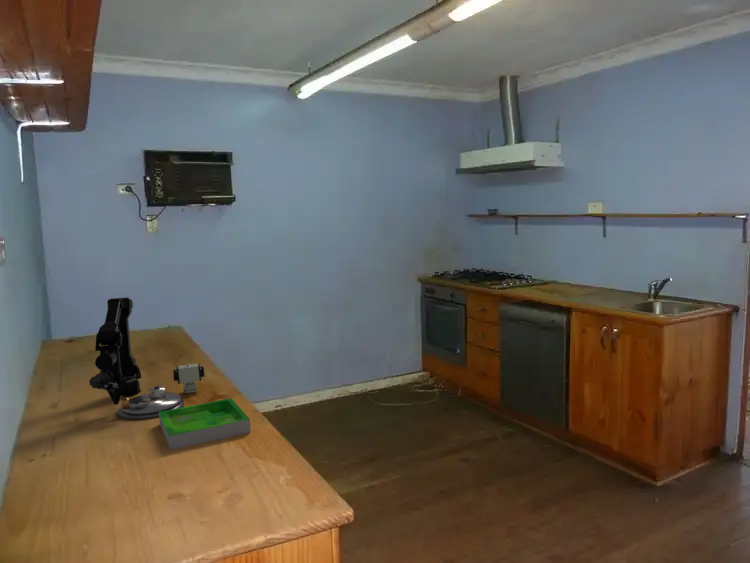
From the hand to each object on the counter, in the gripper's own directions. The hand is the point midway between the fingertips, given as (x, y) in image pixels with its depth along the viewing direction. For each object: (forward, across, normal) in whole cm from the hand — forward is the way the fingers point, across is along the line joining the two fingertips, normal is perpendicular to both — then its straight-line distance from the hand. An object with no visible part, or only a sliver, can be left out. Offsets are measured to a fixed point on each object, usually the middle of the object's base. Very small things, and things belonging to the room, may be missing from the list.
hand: (116, 404), depth 209 cm
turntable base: (+4, +8, +8) cm, 12 cm away
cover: (+1, +7, +14) cm, 15 cm away
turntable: (+2, +8, +8) cm, 12 cm away
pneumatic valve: (+4, +9, +29) cm, 30 cm away
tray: (+4, +42, -1) cm, 42 cm away
